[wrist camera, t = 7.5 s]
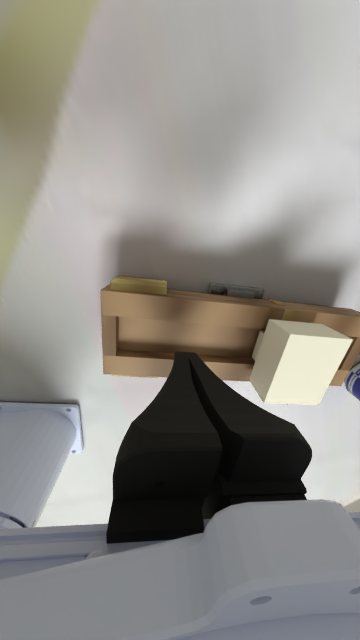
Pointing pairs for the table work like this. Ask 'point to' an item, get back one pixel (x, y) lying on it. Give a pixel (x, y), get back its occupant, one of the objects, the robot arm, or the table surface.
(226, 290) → the clear grey flat box
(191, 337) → the beam
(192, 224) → the table surface
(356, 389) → the energy drink
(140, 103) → the table surface
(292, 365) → the plate
